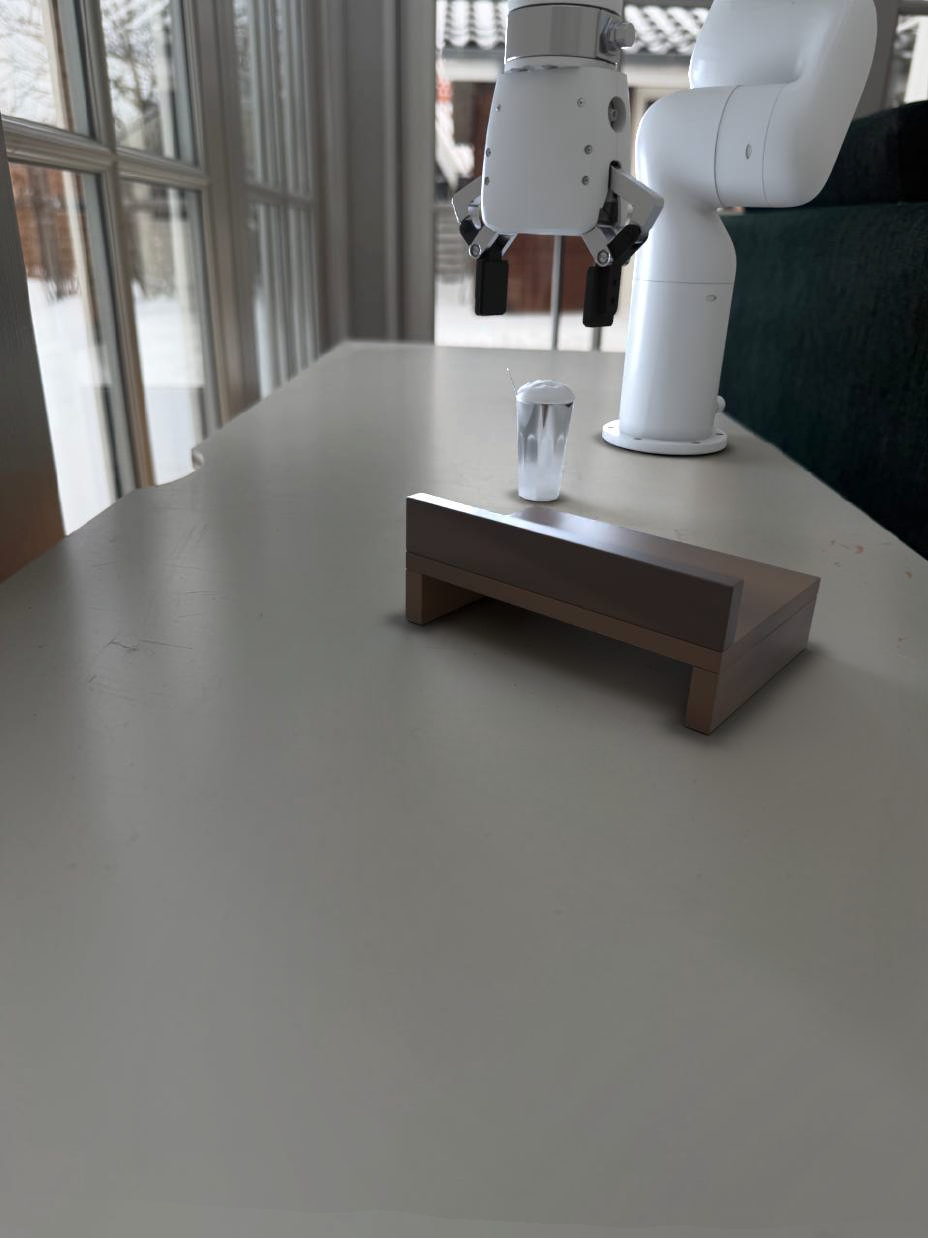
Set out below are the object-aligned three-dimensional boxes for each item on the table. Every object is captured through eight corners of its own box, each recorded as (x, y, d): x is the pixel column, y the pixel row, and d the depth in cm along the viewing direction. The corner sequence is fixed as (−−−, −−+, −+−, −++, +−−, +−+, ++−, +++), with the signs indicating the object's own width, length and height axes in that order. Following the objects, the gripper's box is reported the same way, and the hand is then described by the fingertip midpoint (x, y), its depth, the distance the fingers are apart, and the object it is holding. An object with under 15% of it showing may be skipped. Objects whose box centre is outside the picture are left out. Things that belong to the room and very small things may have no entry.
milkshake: (497, 488, 73) (503, 364, 69) (561, 488, 74) (570, 365, 70) (504, 504, 69) (511, 373, 65) (571, 504, 70) (582, 374, 66)
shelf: (531, 564, 57) (538, 457, 54) (806, 647, 47) (833, 521, 44) (404, 619, 49) (405, 496, 46) (708, 735, 38) (733, 586, 36)
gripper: (705, 50, 57) (670, 329, 63) (493, 70, 67) (482, 310, 73) (649, 26, 51) (617, 334, 58) (427, 52, 61) (421, 312, 68)
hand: (541, 320), depth 66 cm, fingers open, 9 cm apart
